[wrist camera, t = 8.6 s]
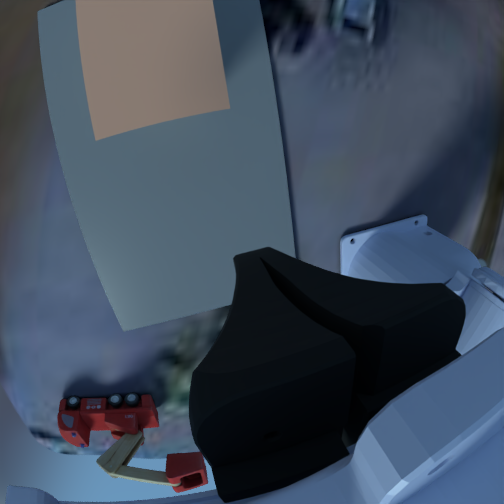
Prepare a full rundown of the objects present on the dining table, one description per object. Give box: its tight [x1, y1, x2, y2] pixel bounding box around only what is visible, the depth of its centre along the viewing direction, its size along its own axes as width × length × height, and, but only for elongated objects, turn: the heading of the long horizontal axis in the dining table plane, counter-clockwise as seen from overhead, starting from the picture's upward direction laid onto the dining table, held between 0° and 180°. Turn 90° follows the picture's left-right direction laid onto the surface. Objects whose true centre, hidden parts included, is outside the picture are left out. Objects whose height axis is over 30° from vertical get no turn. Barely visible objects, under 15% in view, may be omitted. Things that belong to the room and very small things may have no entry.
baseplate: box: [38, 0, 295, 331], centre depth 18 cm, size 14×24×1 cm, turn 9°
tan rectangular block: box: [75, 0, 230, 141], centre depth 9 cm, size 4×8×4 cm, turn 8°
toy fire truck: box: [58, 393, 208, 493], centre depth 22 cm, size 3×14×10 cm, turn 90°
